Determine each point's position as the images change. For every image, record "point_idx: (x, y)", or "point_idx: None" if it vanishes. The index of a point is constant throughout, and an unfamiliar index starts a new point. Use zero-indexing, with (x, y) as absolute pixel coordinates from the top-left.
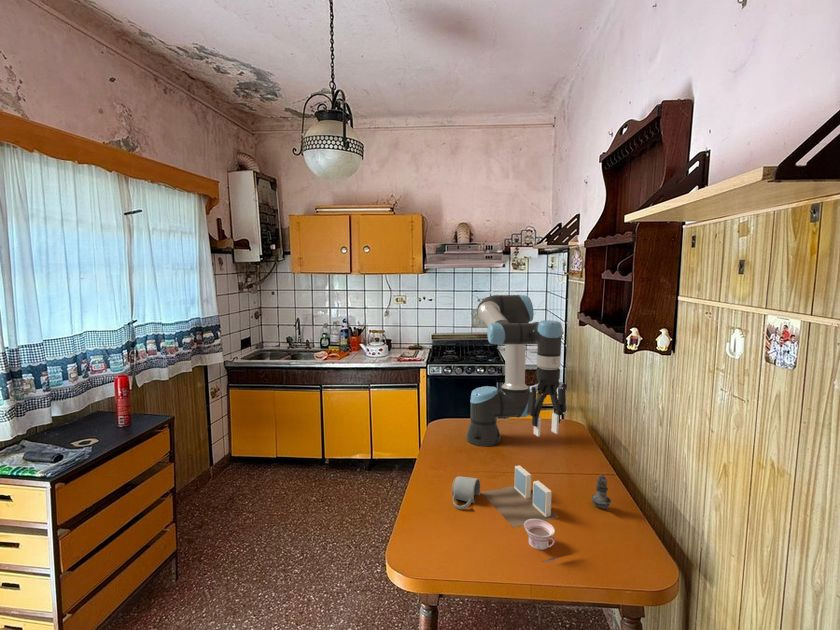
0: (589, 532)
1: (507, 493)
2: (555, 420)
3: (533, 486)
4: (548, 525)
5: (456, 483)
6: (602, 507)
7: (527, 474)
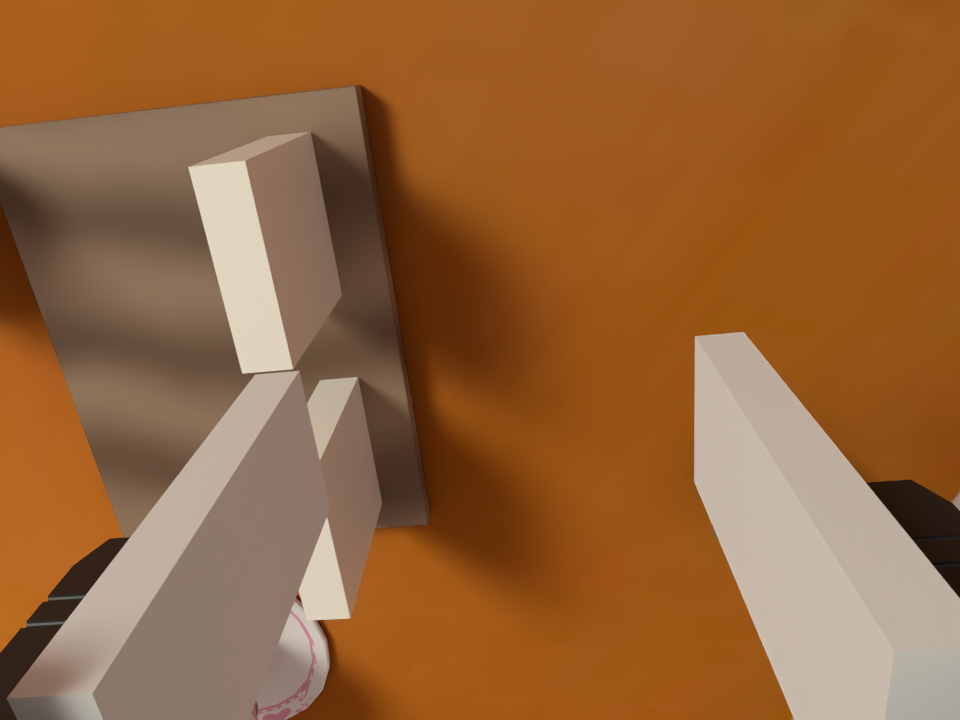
0: (535, 616)
1: (187, 201)
2: (789, 647)
3: None
4: (252, 713)
5: None
6: None
7: (260, 356)
